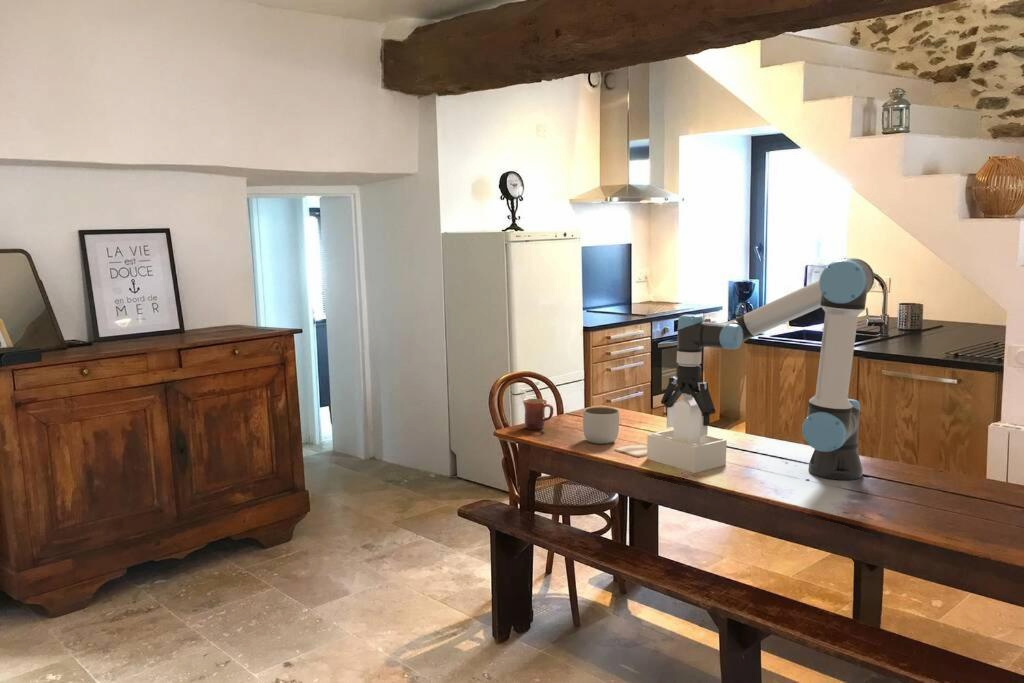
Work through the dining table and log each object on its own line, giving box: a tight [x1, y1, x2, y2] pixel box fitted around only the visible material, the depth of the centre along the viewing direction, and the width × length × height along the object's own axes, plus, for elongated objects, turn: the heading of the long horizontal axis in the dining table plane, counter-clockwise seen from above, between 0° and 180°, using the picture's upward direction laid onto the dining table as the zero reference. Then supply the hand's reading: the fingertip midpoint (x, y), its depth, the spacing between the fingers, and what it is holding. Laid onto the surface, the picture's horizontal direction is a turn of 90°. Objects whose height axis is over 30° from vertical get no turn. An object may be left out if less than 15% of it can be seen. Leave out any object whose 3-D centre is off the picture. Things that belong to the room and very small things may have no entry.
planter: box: [582, 406, 620, 445], centre depth 286 cm, size 12×12×11 cm
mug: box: [522, 398, 554, 431], centre depth 304 cm, size 12×9×10 cm
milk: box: [673, 393, 702, 446], centre depth 260 cm, size 6×6×22 cm
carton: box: [646, 428, 728, 474], centre depth 261 cm, size 20×15×8 cm
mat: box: [614, 443, 647, 459], centre depth 274 cm, size 11×11×1 cm
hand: (686, 431), depth 260 cm, fingers open, 13 cm apart
